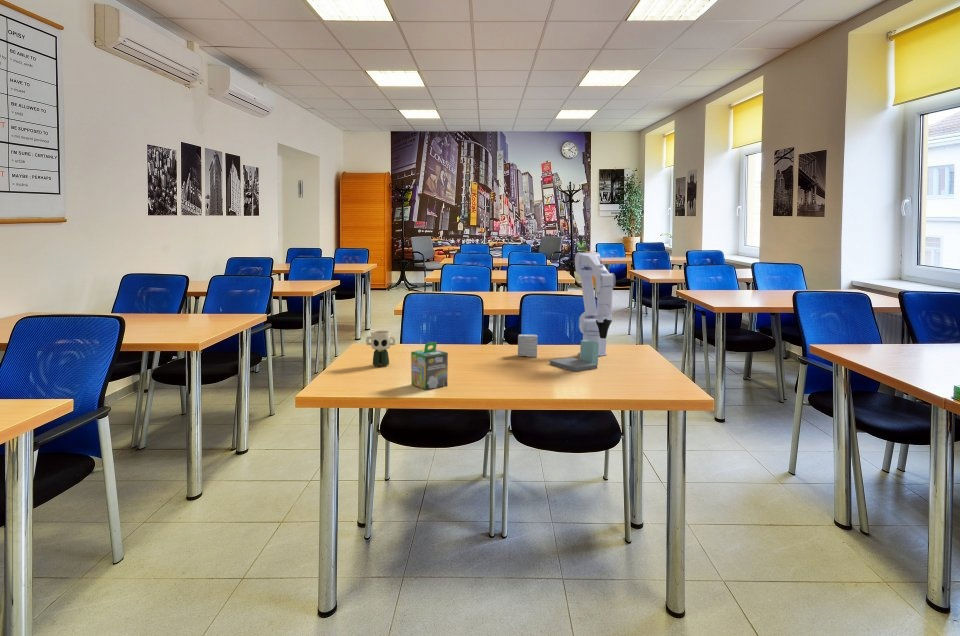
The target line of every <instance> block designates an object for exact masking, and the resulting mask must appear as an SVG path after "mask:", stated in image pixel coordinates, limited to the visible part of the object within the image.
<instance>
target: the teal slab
mask: <svg viewBox="0 0 960 636" xmlns="http://www.w3.org/2000/svg"><path fill="white" fill-rule="evenodd" d="M598 350H599V343H598V342H594V341H589V340H583V339H581V340H580V351H579V352H580V354H579V356H580V357H579V360H583V361H586V362H590V363H593V364H597V365H598V366H599V356H598Z"/></svg>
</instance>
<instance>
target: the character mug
mask: <svg viewBox="0 0 960 636" xmlns="http://www.w3.org/2000/svg"><path fill="white" fill-rule="evenodd" d="M370 334H371V335H370V336H366V337H365V344H366V345H367V346H371V348H372V349H373V350H374V351H373V356H372V365H373V366H375V367H380V365H381V367H385V366H386V367H387V366H389V365H390V358H389V352H388V349H390V348H391V346H395V345H396V337H395V336H391V331H389V330H384V329H383V330H374V331H371V333H370ZM391 340H392V342H391ZM370 341H371V342H370Z"/></svg>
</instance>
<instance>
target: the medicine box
mask: <svg viewBox="0 0 960 636" xmlns="http://www.w3.org/2000/svg"><path fill="white" fill-rule="evenodd" d="M518 356H527V357H526V358H538V335H537V334H518V336H517V357H518Z"/></svg>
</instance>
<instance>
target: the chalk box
mask: <svg viewBox="0 0 960 636" xmlns="http://www.w3.org/2000/svg"><path fill="white" fill-rule="evenodd" d="M437 343H438V342H437V341H431V342H426V343H425V345H424V349H420V350H419V349H418V350H414V351H411V352H410V356H411V357H410V360H411V361H410V366H411V367H410V368H411V369H410V370H411V371H410V372H411V377H410V378H411V385H412V386H414V387H415V386H416V387H418V388H419V389H424V390H426V391H427V390H432V389H437V388H443V387H442V386H444V387H448V378H449V377H448V372H449V371H448V369H449V365H448V359H449V358H448V357H449V355H448V354H449V352H446V351H443V350H440V349H437ZM431 346H432V348H429V347H431Z"/></svg>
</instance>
